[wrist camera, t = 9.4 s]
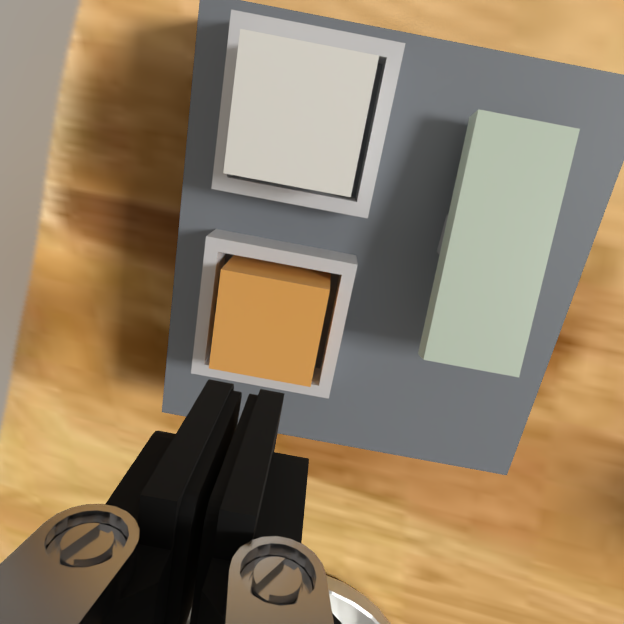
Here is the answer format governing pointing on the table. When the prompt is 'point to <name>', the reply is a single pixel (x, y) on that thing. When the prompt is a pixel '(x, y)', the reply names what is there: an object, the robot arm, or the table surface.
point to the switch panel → (383, 235)
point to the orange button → (269, 320)
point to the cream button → (298, 112)
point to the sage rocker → (497, 241)
